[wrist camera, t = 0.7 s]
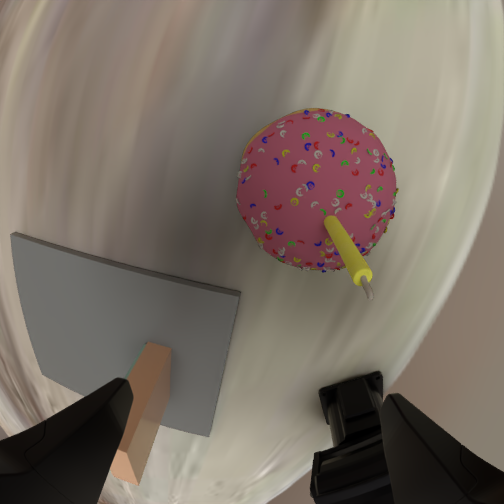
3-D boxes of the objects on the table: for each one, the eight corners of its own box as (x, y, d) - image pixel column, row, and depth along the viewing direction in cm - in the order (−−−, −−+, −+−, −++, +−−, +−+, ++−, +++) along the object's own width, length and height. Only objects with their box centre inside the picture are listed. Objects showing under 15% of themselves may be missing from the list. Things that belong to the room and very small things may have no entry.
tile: (171, 348, 22) (126, 452, 12) (169, 396, 24) (138, 485, 14) (144, 340, 22) (90, 437, 12) (146, 389, 24) (110, 474, 14)
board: (240, 292, 21) (239, 297, 20) (210, 432, 27) (209, 437, 27) (15, 231, 20) (10, 234, 19) (44, 371, 27) (42, 374, 26)
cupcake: (369, 235, 19) (467, 328, 7) (253, 251, 20) (237, 373, 8) (357, 116, 16) (472, 77, 5) (233, 128, 17) (177, 81, 6)
